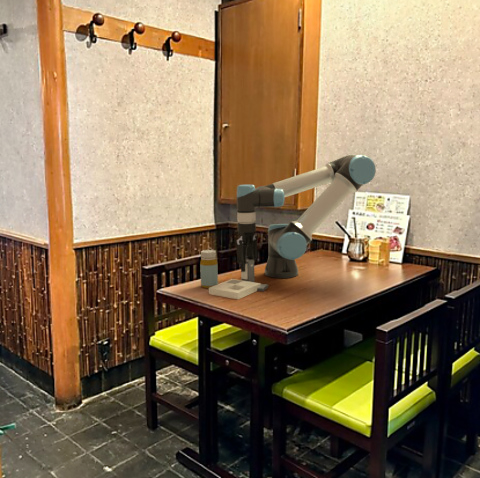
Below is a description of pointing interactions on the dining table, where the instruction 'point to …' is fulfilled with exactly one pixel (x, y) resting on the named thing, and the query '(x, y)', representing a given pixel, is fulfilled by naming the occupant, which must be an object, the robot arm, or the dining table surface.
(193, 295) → the dining table surface
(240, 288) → the plate
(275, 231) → the robot arm
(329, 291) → the dining table surface
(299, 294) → the dining table surface
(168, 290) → the dining table surface
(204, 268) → the bottle
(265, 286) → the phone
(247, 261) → the block
